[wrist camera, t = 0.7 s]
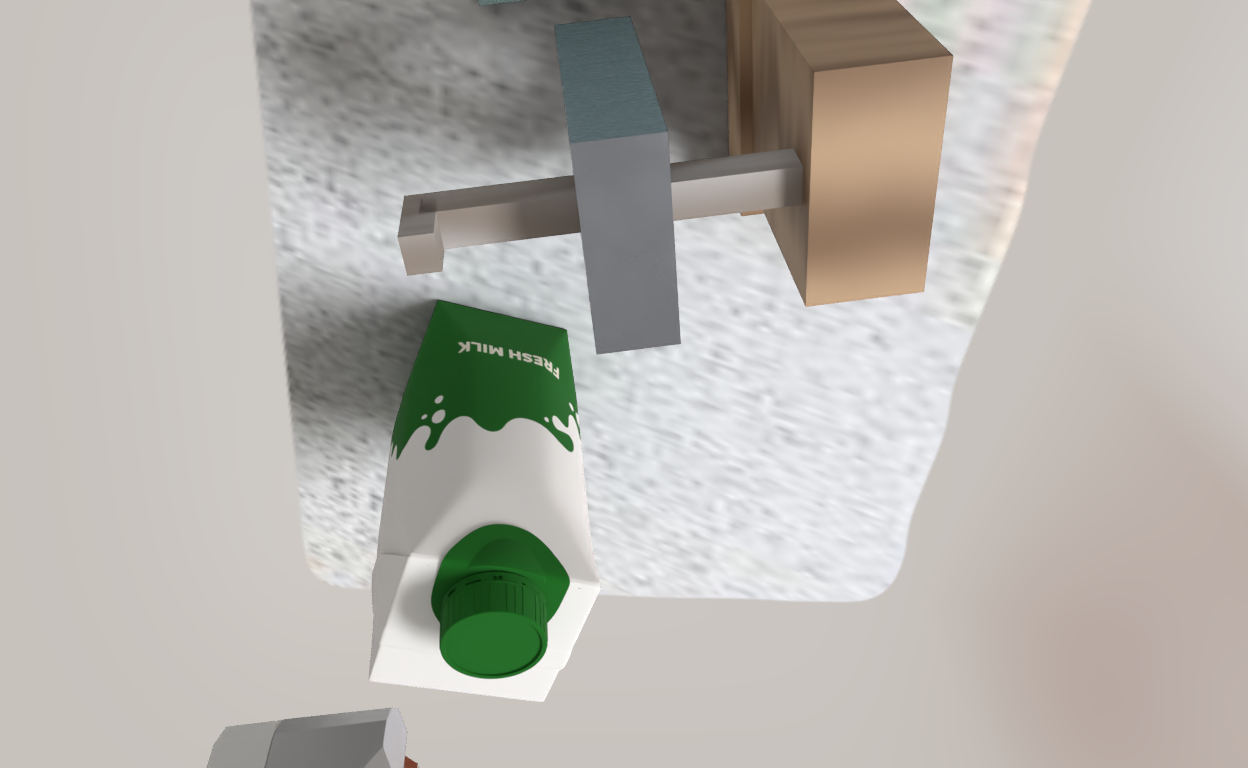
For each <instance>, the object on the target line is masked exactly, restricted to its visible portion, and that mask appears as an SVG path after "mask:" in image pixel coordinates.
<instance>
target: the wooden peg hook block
mask: <svg viewBox="0 0 1248 768" xmlns="http://www.w3.org/2000/svg"><path fill="white" fill-rule="evenodd" d="M726 23H727V75H728V126H729V156H727V157H718V158H710V159H702V160H694V161H686V162H678V163H670V174H671V191H672V207H673V221H676V220H684V219H692V218H700V217H708V216H716V215H724V214H732V213H740V214H741V216H747V215H755V214H763V213H764V214H765V216H766V218H767V220H768V223H769V225H770V227H771V229H772V232H773V234H774V236H775V238H776V241H777V243H778V245H779V248H780V250H781V252H782V254H783V257H784V259H785V261H786V263H787V266H788V268H789V270H790V272H791V275H792V277H793V279H794V281H795V284H796V286H797V288H798V290H799V293H800V295H801V297H802V299H803V302H804V304H805V306H806V307H808V306H816V305H824V304H831V303H839V302H847V301H855V300H863V299H871V298H879V297H887V296H894V295H902V294H910V293H918V292H924V287H925V279H926V271H927V262H928V254H929V246H930V238H931V230H932V222H933V214H934V206H935V198H936V190H937V182H938V174H939V166H940V158H941V150H942V142H943V134H944V126H945V118H946V110H947V102H948V94H949V86H950V78H951V70H952V61H953V55H952V54H951V53H950V52H949V51H948V50H947V49H946V48H945V47H944V46H943V45H942V44H941V43H940V42H939V41H938V40H937V39H936V38H935V37H934V36H933V35H932V34H931V33H930V32H929V31H928V30H926V29H925V28H924V27H923V26H922V25H921V24H920V23H919V22H918V21H917V20H916V19H915V18H914V17H913V16H912V15H911V14H910V13H909V12H908V11H907V10H906V9H905V8H904V7H903V6H902V5H901V4H900V3H899V2H898V1H897V0H726ZM579 232H581V229H580V221H579V213H578V205H577V197H576V189H575V181H574V175H572V176H563V177H555V178H547V179H539V180H531V181H523V182H514V183H506V184H498V185H490V186H482V187H474V188H465V189H457V190H449V191H441V192H433V193H425V194H417V195H408V196H404V201H403V208H402V214H401V220H400V226H399V232H398V241H399V245H400V249H401V253H402V256H403V260H404V264H405V268H406V272H407V276H408V275H416V274H424V273H432V272H441V271H442V269H443V257H444V249H450V248H458V247H466V246H474V245H483V244H491V243H499V242H507V241H515V240H523V239H531V238H539V237H547V236H555V235H563V234H571V233H579Z"/></svg>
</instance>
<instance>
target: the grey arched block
mask: <svg viewBox="0 0 1248 768" xmlns="http://www.w3.org/2000/svg"><path fill="white" fill-rule="evenodd" d="M554 28H555V36H556V44H557V51H558V59H559V67H560V75H561V82H562V90H563V97H564V105H565V112H566V120H567V127H568V135H569V142H570V150H571V158H572V165H573V175H574V181H575V189H576V197H577V205H578V213H579V221H580V229H581V239H582V247H583V255H584V262H585V270H586V277H587V285H588V293H589V300H590V308H591V315H592V323H593V331H594V338H595V346H596V353H597V354H604V353H612V352H620V351H628V350H636V349H644V348H651V347H659V346H667V345H675V344H681V341H680V324H679V308H678V291H677V274H676V258H675V241H674V224H673V207H672V191H671V174H670V157H669V141H668V130H667V127H666V124H665V121H664V118H663V115H662V112H661V109H660V106H659V103H658V100H657V97H656V94H655V90H654V87H653V84H652V81H651V78H650V75H649V72H648V69H647V66H646V63H645V60H644V57H643V54H642V51H641V48H640V45H639V41H638V38H637V35H636V32H635V29H634V26H633V23H632V20H631V17H630V16H628V17H620V18H611V19H603V20H594V21H586V22H578V23H569V24H561V25H554Z"/></svg>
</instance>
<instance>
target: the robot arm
mask: <svg viewBox="0 0 1248 768" xmlns="http://www.w3.org/2000/svg"><path fill="white" fill-rule="evenodd" d="M406 741H407V730H406V727H405V724H404V722H403V719H402V716H401V713H400V711H399V709H398V708H385V709H376V710H367V711H358V712H348V713H339V714H331V715H320V716H311V717H302V718H293V719H284V720H279V721H270V722H262V723H254V724H246V725H237V726H229V727H226V728H225V730H224V731H223V732H222V734H221V735H220V737H219V738H218V740H217V741H216V742H215V744H214V746H213V749H212V752H211V755H210V758H209V762H208V765H207V768H419V766H418V763H416V762H414V761H412V760H411V759H409V758H408V757H406V756H405V750H406Z"/></svg>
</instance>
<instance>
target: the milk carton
mask: <svg viewBox="0 0 1248 768" xmlns="http://www.w3.org/2000/svg"><path fill="white" fill-rule="evenodd" d="M600 588H601V587H600V580H599V576H598V572H597V568H596V564H595V559H594V554H593V550H592V545H591V538H590V528H589V518H588V508H587V498H586V488H585V478H584V468H583V458H582V448H581V438H580V428H579V418H578V409H577V399H576V392H575V385H574V378H573V371H572V364H571V357H570V350H569V343H568V335H567V330H565V329H560V328H556V327H552V326H548V325H543V324H539V323H535V322H530V321H526V320H522V319H518V318H513V317H509V316H505V315H501V314H496V313H492V312H488V311H483V310H479V309H475V308H471V307H466V306H462V305H458V304H453V303H449V302H445V301H441V300H438V301H437V304H436V306H435V309H434V312H433V315H432V317H431V320H430V323H429V326H428V328H427V331H426V334H425V337H424V339H423V342H422V345H421V347H420V350H419V353H418V355H417V358H416V361H415V363H414V366H413V369H412V372H411V375H410V377H409V380H408V383H407V386H406V389H405V392H404V395H403V399H402V402H401V405H400V408H399V411H398V415H397V418H396V421H395V425H394V430H393V435H392V440H391V446H390V454H389V461H388V469H387V476H386V484H385V491H384V499H383V507H382V514H381V522H380V530H379V538H378V550H377V559H376V563H375V566H374V569H373V573H372V604H373V614H374V619H373V635H372V648H371V649H372V650H371V660H370V670H369V681H374V682H381V683H390V684H398V685H407V686H414V687H423V688H431V689H439V690H447V691H455V692H464V693H471V694H480V695H488V696H496V697H504V698H512V699H521V700H529V701H538V702H543V701H544V700H545V698H546V695H547V694H548V692H549V690H550V687H551V686H552V684H553V682H554V680H555V677H556V675H557V673H558V671H559V669H563V668H564V666H565V665H566V663H567V661H568V659H569V656H570V654H571V650H572V648H573V646H574V643H575V641H576V639H577V637H578V635H579V633H580V631H581V629H582V627H583V624H584V622H585V620H586V618H587V616H588V614H589V612H590V610H591V608H592V606H593V603H594V601H595V599H596V597H597V595H598V593H599V591H600Z"/></svg>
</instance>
